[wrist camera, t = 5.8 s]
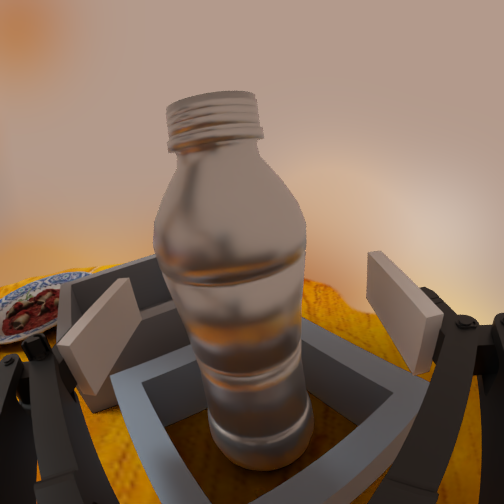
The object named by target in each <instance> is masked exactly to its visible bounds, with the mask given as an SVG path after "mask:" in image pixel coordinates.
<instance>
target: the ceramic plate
mask: <svg viewBox="0 0 504 504" xmlns="http://www.w3.org/2000/svg"><path fill="white" fill-rule="evenodd" d="M91 274H92V273H87V272H68V273H62V274H57V275H53V276H49V277H46V278H43V279H40V280H37V281H34V282H32V283H29V284H27V285H25V286H23V287H21V288H19V289H17V290H15V291H13V292H11V293H10V294H8V295H6V296H5V297H3V298H2V299H0V344H8V343H13V342H17V341H21V340H24V339H26V338H27V337H29V336H31V335H33V334H36V333H42V332H44V331H46V330H48V329H50V328H52V327H54V326H56V325H57V318H58V305H59V295H60V286H61V284H64V283H67V282H70V281H73V280H76V279H79V278H82V277H85V276H88V275H91Z"/></svg>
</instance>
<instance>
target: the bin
mask: <svg viewBox="0 0 504 504" xmlns="http://www.w3.org/2000/svg"><path fill="white" fill-rule="evenodd" d="M119 278H129V279H130V282H131V286H132V289H133V292H134V296H135V299H136V302H137V305H138V308H139V311H140V314H141V317H142V320H141V322H140V323H139V325H138V326H137V328H136V330H135V331H134V333H133V334H132V336H131V338H130V339H129V341H128V343H127V344H126V346H125V347H124V349H123V351H122V352H121V354H120V356H119V357H118V359H117V361H116V362H115V364H114V366H113V367H112V369H111V371H110V372H109V374H108V376H107V378H106V379H105V381H104V383H103V384H102V386H101V388H100V390H99V391H98V393H97V395H96V396H94V395H87V394H83V393H82V391H81V390H80V388H79V386H78V385H76V388H77V389H78V391H79V393H80V394H81V396H82V398H83V399H84V401H85V402H86V404H87V406H88V407H89V409H90V410H91V412H92V413H96V412H99V411H101V410H104V409H107V408H110V407H113V406H116V405H118V401H117V398H116V395H115V392H114V389H113V385H112V382H111V379H110V375H113V374H116V373H118V372H121V371H124V370H126V369H129V368H132V367H134V366H137V365H140V364H142V363H145V362H148V361H150V360H153V359H155V358H158V357H160V356H163V355H165V354H168V353H171V352H173V351H175V350H178V349H180V348H183V347H185V346H188V345H190V344H191V343H190V341H189V338H188V335H187V332H186V329H185V326H184V324H183V322H182V319H181V317H180V315H179V313H178V310H177V308H176V306H175V304H174V301H173V299H172V297H171V294H170V292H169V290H168V287H167V285H166V282H165V280H164V277H163V274H162V271H161V270H160V268H159V264H158V261H157V258H156V255H155V254H154V255H150V256H147V257H144V258H141V259H138V260H134V261H131V262H128V263H125V264H122V265H119V266H115V267H112V268H109V269H106V270H103V271H100V272H97V273H94V274H91V275H88V276H85V277H82V278H79V279H76V280H73V281H70V282H67V283H64V284H61V286H60V295H59V305H58V318H57V337H56V343H57V342H58V341H59V340H60V338H61V337H63V335H64V334H65V333H66V332H67V331H68V329H69V328H70V327H71V326H72V325H73V324H75V323H76V322H77V321H78V320H79V319H80V318H81V317H82V316H83V315H84V314H85V312H86V311H87V310H88V309H89V308H90V307H91V306H92V305H93V304H94V303H95V302H96V301H97V300H98V299H99V298H100V297H101V296H102V294H103V293H104V292H105V291H106V290H107V289H108V288H109V287H110V286H111V285H112V284H113V283H114V282H115V281H116V280H117V279H119Z"/></svg>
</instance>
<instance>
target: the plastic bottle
mask: <svg viewBox="0 0 504 504" xmlns="http://www.w3.org/2000/svg"><path fill="white" fill-rule="evenodd" d="M166 110H167V112H166V119H167V127H168V134H169V141H168V142H167V146H168V152H169V153H174V152H175V153H176V155H177V169H176V171H175V173H174V175H173V177H172V179H171V181H170V183H169V186H168V188H167V190H166V192H165V194H164V196H163V198H162V201H161V204H160V207H159V210H158V213H157V216H156V219H155V222H154V236H153V247H154V251H155V255H156V258H157V261H158V264H159V268H160V270H161V271H162V274H163V277H164V280H165V282H166V285H167V287H168V290H169V292H170V294H171V297H172V299H173V301H174V304H175V306H176V308H177V310H178V313H179V315H180V317H181V319H182V322H183V324H184V326H185V329H186V332H187V335H188V338H189V341H190V343H191V346H192V349H193V352H194V354H195V357H196V360H197V363H198V365H199V368H200V372H201V377H202V381H203V386H204V391H205V395H206V400H207V404H208V421H209V426H210V432H211V435H212V438H213V440H214V442H215V443H216V445H217V446H218V448H219V449H220V450H221V451H222V453H223V454H224V455H225V456H226V457H227V458H228V459H229V460H230V461H231V462H233V463H235V464H236V465H238V466H240V467H243V468H246V469H249V470H255V471H270V470H275V469H279V468H282V467H284V466H287V465H289V464H291V463H292V462H294V461H295V460H297V459H298V458H299V457H300V456H301V455H302V454H303V453H304V451H305V450H306V448H307V447H308V444H309V442H310V439H311V436H312V433H313V430H314V415H313V410H312V405H311V400H310V398H309V395H308V392H307V390H306V384H305V377H304V371H303V364H302V358H301V304H302V293H303V281H304V268H305V255H306V252H305V250H306V222H305V219H304V217H303V214H302V211H301V209H300V206H299V204H298V202H297V200H296V199H295V198H294V196H293V195H292V193H291V192H290V190H289V189H288V188H287V186H286V185H285V184H284V182H283V181H282V180H281V178H280V177H279V176H278V175H277V174H276V173H275V172H274V171H273V170H272V168H271V167H270V166H269V165H268V164H267V163H266V162H265V161H264V160H263V159H262V158H261V157H260V154H259V151H258V148H257V140H259V139H263V138H264V134H263V128H262V127H260V124H259V115H258V108H257V100H256V99H255V94H253V93H250V92H245V91H221V92H213V93H206V94H201V95H196V96H192V97H188V98H185V99H182V100H179V101H177V102H174V103H172V104H171V105H169V106H168V107H167V109H166Z"/></svg>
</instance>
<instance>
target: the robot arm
mask: <svg viewBox="0 0 504 504" xmlns="http://www.w3.org/2000/svg"><path fill="white" fill-rule="evenodd" d="M366 298H367V300H368V302H369V303H370V305H371V306H372V308H373V309H374V311H375V313H376V314H377V316H378V317H379V319H380V321H381V322H382V324H383V326H384V327H385V329H386V330H387V332H388V334H389V335H390V337H391V339H392V340H393V342H394V344H395V345H396V347H397V349H398V350H399V352H400V354H401V356H402V357H403V359H404V361H405V362H406V364H407V366H408V368H409V369H410V371H411V373H412V375H413V376H415V375H418V374H422V373H425V372H429V370H430V367H431V364H432V360H433V361H434V363H435V364H436V367H435V370H434V373H433V376H432V378H431V381H430V384H429V386H428V389H427V392H426V394H425V397H424V399H423V402H422V404H421V406H420V409H419V411H418V414H417V416H416V418H415V420H414V422H413V425H412V427H411V429H410V431H409V433H408V435H407V437H406V439H405V441H404V443H403V445H402V447H401V449H400V451H399V453H398V455H397V457H396V459H395V460H394V462H393V464H392V466H391V468H390V469H389V471H388V473H387V474H386V476H385V477H384V479H383V480H382V482H381V483H380V485H379V487H378V488H377V490H376V491H375V493H374V494H373V496H372V497H371V499H370V500H369V502H368V503H367V504H436V502H437V499H438V495H439V494H438V492H437V491H438V488H439V485H440V483H441V480H442V478H443V476H444V473H445V471H446V468H447V465H448V463H449V460H450V457H451V455H452V452H453V449H454V446H455V443H456V440H457V437H458V433H459V430H460V427H461V423H462V420H463V416H464V412H465V408H466V404H467V400H468V396H469V391H470V387H471V382H472V376H473V375H477V379H478V388H479V397H480V409H481V428H482V465H481V483H480V494H479V503H478V504H504V313H499V314H497V315H496V316H495V318H494V321H493V324H492V325H479V323H478V322H477V320H476V319H474V318H473V317H471V316H467V315H457V314H456V313H455V312H454V311H453V310H452V309H451V308H450V307H449V306H448V305H447V304H446V303H445V302H444V301H443V300H442V299H441V298H439V296H438V295H437V294H436V293H435V292H434V291H432V290H430V289H428V288H426V287H421V288H419V287H418V286H417V285H416V284H415V283H414V282H413V281H412V280H411V279H410V278H409V277H408V276H406V274H405V273H404V272H403V271H402V270H400V269H399V268H398V267H397V266H396V265H395V264H394V263H393V262H392V261H391V260H390V259H389V258H388V257H387V256H386V255H385V254H384V253H383V252H381V251H374V252H368V265H367V294H366ZM141 320H142V317H141V314H140V311H139V308H138V305H137V302H136V299H135V296H134V292H133V289H132V286H131V282H130V279H129V278H119V279H117V280H116V281H115V282H114V283H113V284H112V285H111V286H110V287H109V288H108V289H107V290H106V291H105V292H104V293H103V294H102V296H101V297H100V298H99V299H98V300H97V301H96V302H95V303H94V304H93V305H92V306H91V307H90V308H89V309H88V310H87V311H86V312H85V314H84V315H83V316H82V317H81V318H80V319H79V320H78V321H77V322H76V323H75V324H73V325H72V326H71V327H70V328H69V329H68V331H67V332H66V333H65V334H64V335H63V337H61V338H60V340H59V341H58V342H57V343H56V344H55V345H54V346H53V348H52V349H51V347H50V345H49V343H48V341H47V339H46V337H45V335H44V334H43V333H36V334H33V335H31V336H29V337H27V338H26V339H25V340H24V341H23V342H22V344H21V346H22V348H23V350H24V352H25V354H26V356H27V358H28V360H29V361H28V362H22V361H21V359H20V358H19V356H18V354H10V355H6V356H5V357H4V358H3V359H2V360H1V361H0V504H36V500H37V504H120V503H119V501H118V499H117V497H116V495H115V493H114V491H113V489H112V487H111V485H110V483H109V481H108V479H107V476H106V474H105V472H104V470H103V467H102V465H101V462H100V460H99V458H98V455H97V453H96V450H95V447H94V445H93V442H92V439H91V437H90V434H89V431H88V428H87V425H86V422H85V419H84V416H83V413H82V410H81V406H80V403H79V399H78V396H77V394H76V392H75V391H74V389H75V387H76V385H78V386H79V388H80V390H81V391H82V393H83V394H87V395H94V396H96V395H97V393H98V391H99V390H100V388H101V386H102V384H103V383H104V381H105V379H106V378H107V376H108V374H109V372H110V371H111V369H112V367H113V366H114V364H115V362H116V361H117V359H118V357H119V356H120V354H121V352H122V351H123V349H124V347H125V346H126V344H127V343H128V341H129V339H130V338H131V336H132V334H133V333H134V331H135V330H136V328H137V326H138V325H139V323H140V322H141ZM16 396H17V397H18V399H19V402H18V400H17V397H16ZM37 459H38V465H39V470H40V475H41V481H38V482H36V474H37Z"/></svg>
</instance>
